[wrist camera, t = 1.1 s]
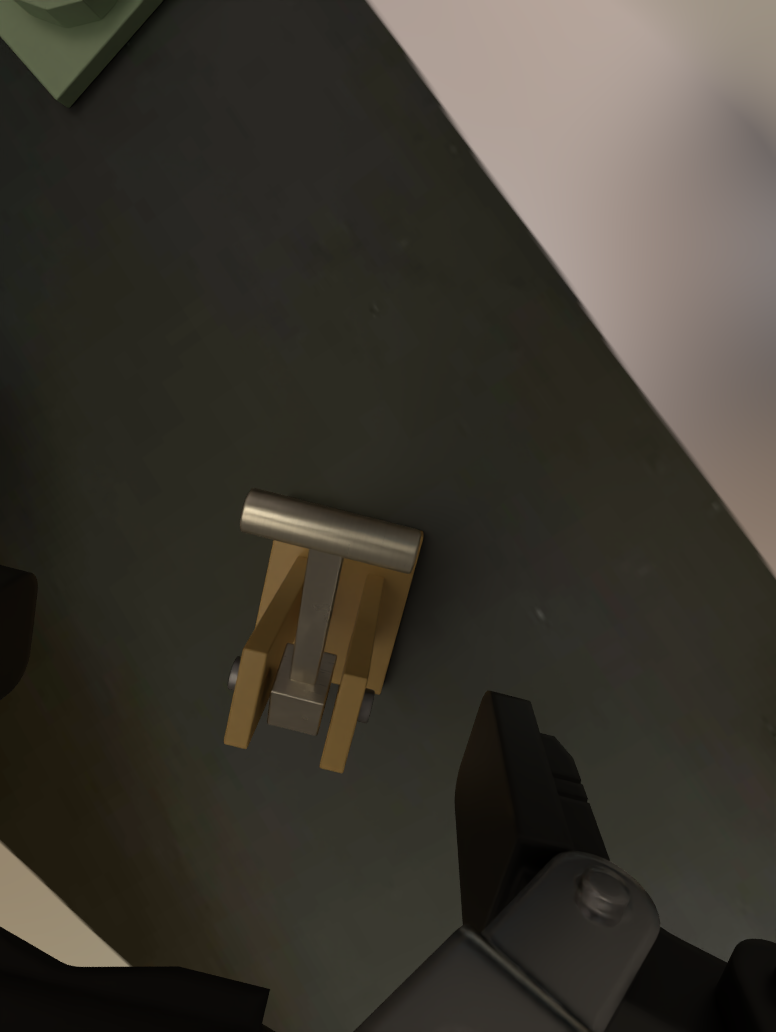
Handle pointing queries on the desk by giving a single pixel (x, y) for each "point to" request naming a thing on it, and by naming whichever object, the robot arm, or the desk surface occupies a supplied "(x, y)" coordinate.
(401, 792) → the desk surface
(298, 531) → the lever
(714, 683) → the desk surface
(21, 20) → the button box
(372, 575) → the bracket
